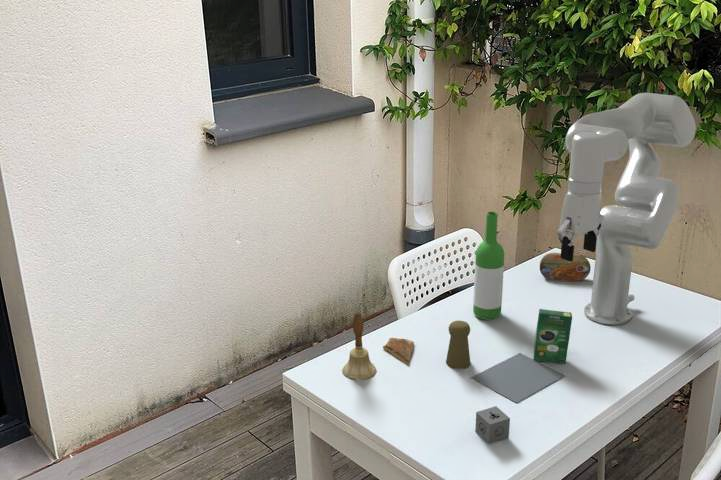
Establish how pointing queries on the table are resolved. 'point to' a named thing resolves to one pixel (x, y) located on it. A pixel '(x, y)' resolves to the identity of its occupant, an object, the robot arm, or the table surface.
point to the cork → (458, 345)
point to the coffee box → (552, 336)
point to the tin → (564, 267)
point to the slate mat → (518, 377)
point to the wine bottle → (489, 273)
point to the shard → (400, 348)
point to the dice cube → (492, 425)
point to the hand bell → (358, 355)
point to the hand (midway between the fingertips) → (578, 254)
